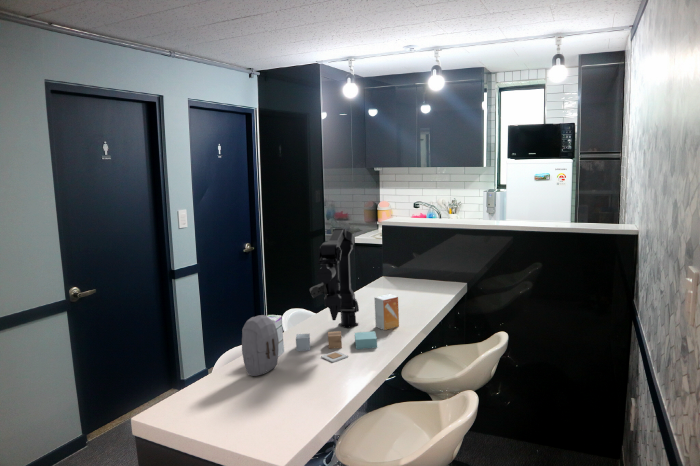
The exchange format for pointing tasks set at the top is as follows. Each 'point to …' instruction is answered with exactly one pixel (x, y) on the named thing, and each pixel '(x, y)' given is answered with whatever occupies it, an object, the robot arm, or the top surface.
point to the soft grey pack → (259, 345)
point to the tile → (334, 356)
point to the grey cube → (303, 342)
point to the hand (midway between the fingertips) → (333, 316)
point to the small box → (386, 311)
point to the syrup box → (278, 331)
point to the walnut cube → (334, 340)
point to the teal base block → (365, 340)
